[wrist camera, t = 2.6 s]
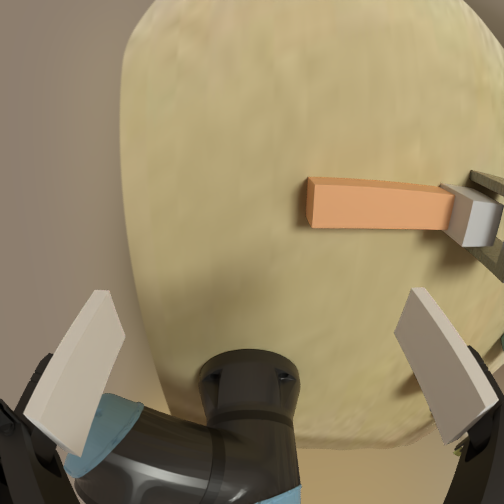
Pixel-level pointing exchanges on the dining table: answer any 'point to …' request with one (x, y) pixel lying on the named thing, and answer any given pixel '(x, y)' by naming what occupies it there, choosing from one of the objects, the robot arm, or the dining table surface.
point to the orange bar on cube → (404, 208)
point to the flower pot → (503, 340)
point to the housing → (500, 254)
